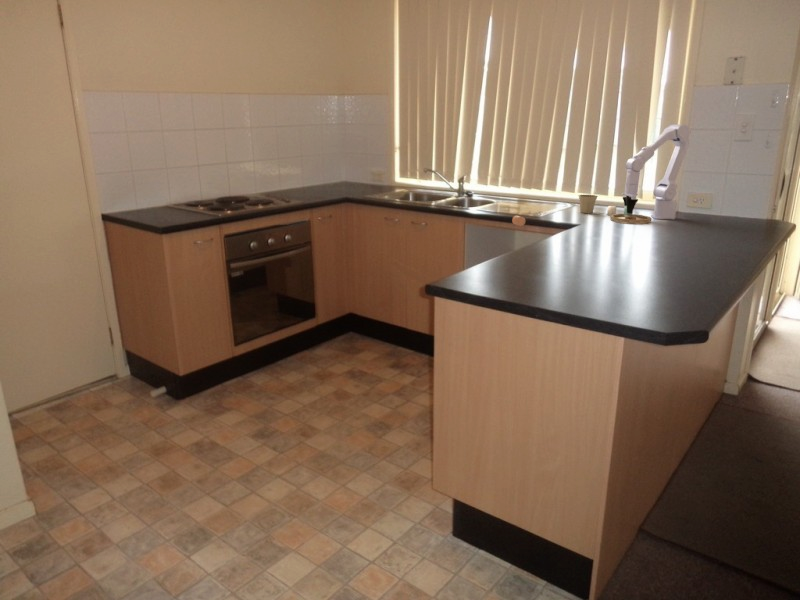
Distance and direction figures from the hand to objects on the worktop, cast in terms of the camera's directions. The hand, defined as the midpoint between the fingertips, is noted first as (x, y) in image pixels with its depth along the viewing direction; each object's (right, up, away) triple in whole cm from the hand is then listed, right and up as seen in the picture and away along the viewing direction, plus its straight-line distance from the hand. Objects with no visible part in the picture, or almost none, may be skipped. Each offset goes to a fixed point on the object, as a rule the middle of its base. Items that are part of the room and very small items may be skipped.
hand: (628, 212), depth 289 cm
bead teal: (0, -1, 0) cm, 2 cm away
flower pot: (-15, +2, +18) cm, 23 cm away
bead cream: (-5, 0, +10) cm, 11 cm away
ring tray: (-1, -4, -4) cm, 6 cm away
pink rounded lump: (-56, -7, -21) cm, 60 cm away
